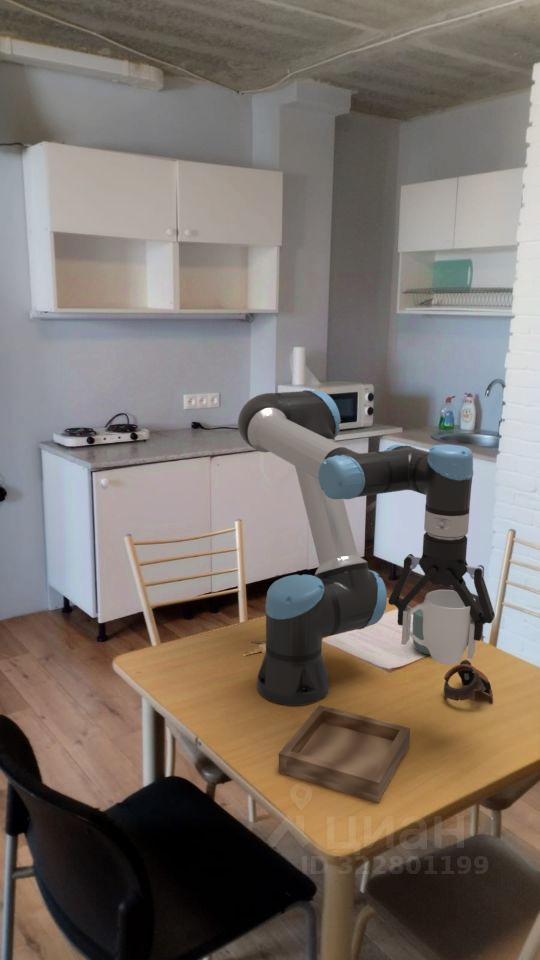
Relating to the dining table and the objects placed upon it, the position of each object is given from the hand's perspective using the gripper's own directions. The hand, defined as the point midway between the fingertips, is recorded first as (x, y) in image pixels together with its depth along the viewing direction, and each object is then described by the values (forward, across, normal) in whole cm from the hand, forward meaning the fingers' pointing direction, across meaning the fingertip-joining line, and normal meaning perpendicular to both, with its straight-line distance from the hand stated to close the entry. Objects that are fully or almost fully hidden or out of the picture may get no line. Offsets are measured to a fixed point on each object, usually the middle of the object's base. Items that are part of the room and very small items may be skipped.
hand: (437, 648), depth 138 cm
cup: (+18, -10, +35) cm, 41 cm away
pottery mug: (+18, +3, +18) cm, 26 cm away
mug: (+2, 0, 0) cm, 2 cm away
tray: (+18, -12, -14) cm, 26 cm away
